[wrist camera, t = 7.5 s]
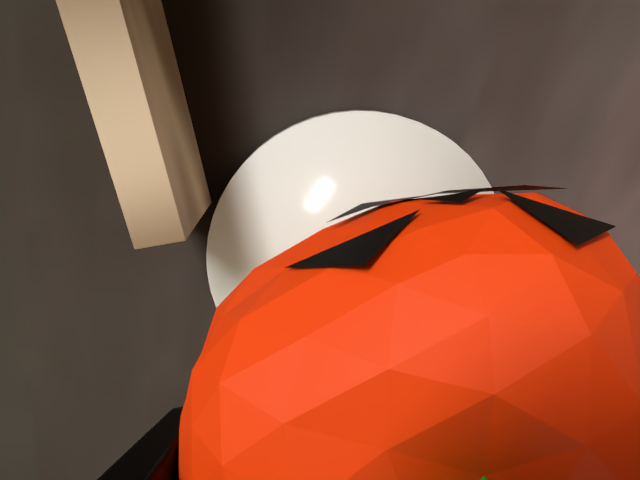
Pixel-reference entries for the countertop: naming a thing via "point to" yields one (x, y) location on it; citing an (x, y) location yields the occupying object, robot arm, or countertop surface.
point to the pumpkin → (426, 350)
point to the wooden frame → (139, 114)
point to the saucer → (325, 184)
